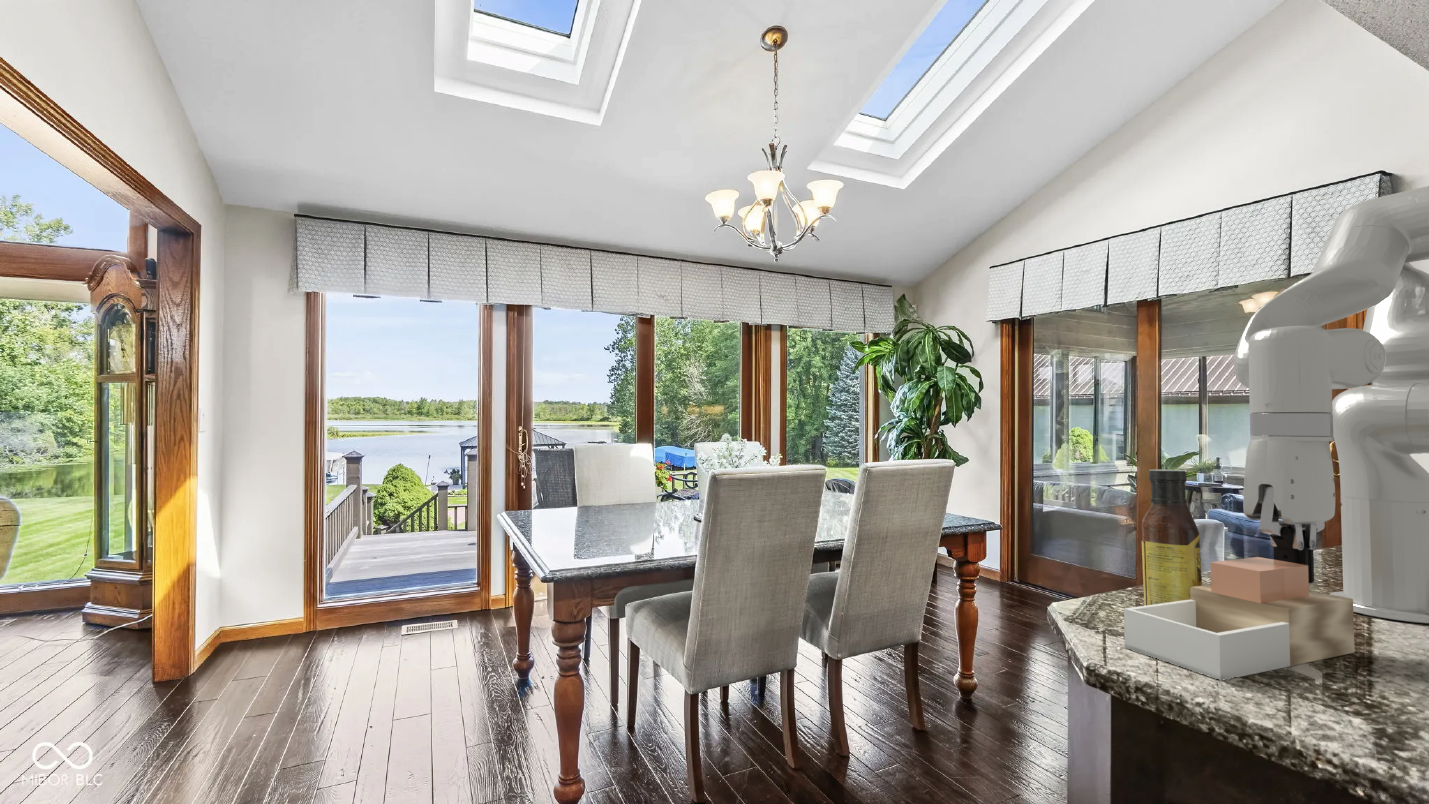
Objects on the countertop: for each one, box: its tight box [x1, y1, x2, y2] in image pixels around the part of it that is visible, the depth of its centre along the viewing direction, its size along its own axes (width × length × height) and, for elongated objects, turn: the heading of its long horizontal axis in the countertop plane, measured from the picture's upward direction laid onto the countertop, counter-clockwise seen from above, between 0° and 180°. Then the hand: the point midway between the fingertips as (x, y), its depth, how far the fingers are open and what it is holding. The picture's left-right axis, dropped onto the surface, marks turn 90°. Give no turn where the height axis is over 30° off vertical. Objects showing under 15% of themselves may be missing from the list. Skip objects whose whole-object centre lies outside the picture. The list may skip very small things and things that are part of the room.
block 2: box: [1234, 556, 1310, 599], centre depth 75 cm, size 4×5×4 cm
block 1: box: [1210, 559, 1285, 603], centre depth 74 cm, size 4×5×4 cm
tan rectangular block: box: [1190, 583, 1356, 667], centre depth 75 cm, size 12×10×6 cm
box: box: [1123, 599, 1291, 681], centre depth 71 cm, size 12×10×4 cm
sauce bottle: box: [1141, 468, 1203, 606], centre depth 83 cm, size 6×6×20 cm
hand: (1293, 580), depth 77 cm, fingers closed
